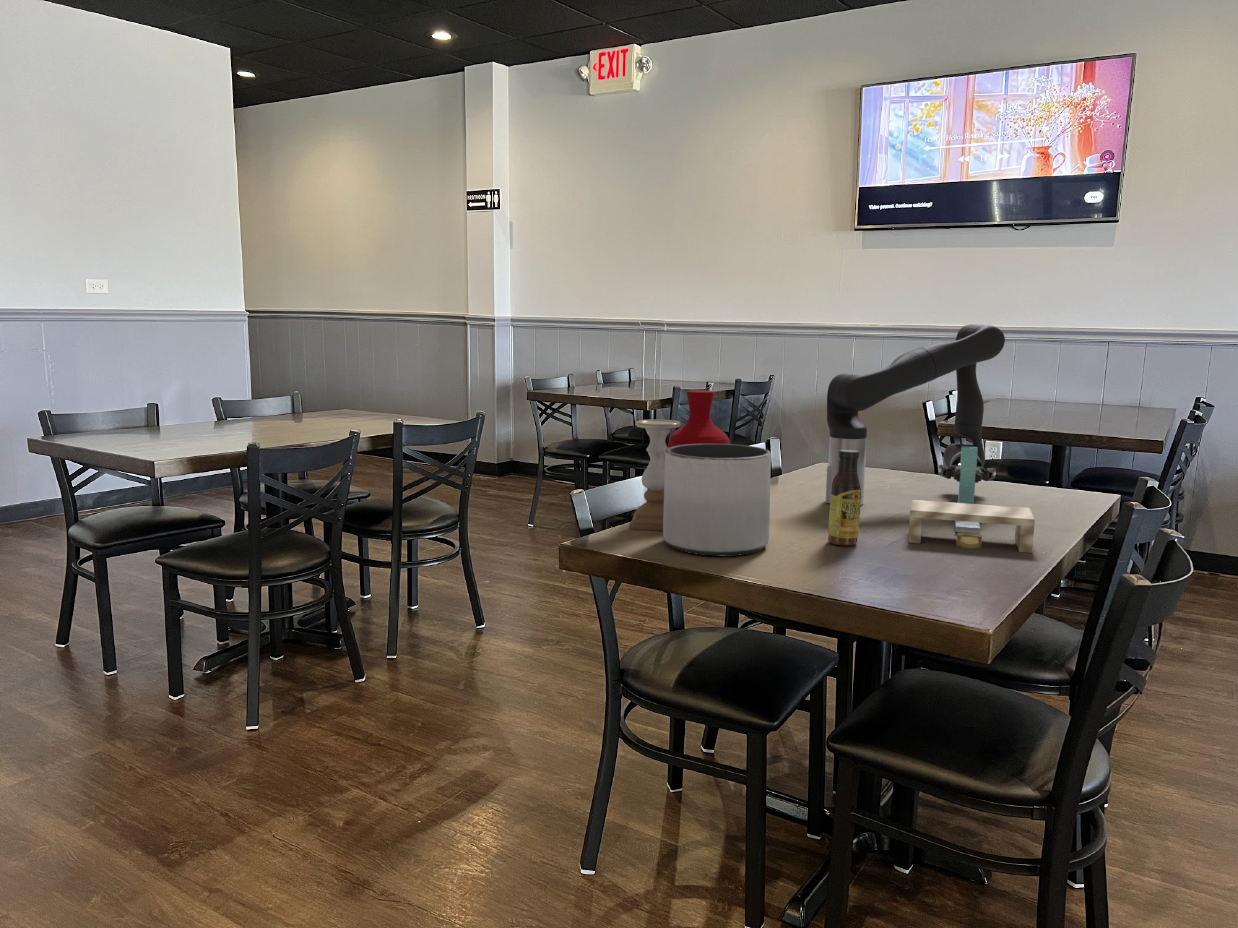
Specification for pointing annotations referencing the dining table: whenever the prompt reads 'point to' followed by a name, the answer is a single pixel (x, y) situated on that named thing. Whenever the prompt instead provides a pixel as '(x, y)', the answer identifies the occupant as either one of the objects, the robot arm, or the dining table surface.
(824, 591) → the dining table surface
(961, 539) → the block
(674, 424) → the candle holder
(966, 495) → the bar
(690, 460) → the planter
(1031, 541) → the plinth shelf
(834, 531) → the sauce bottle
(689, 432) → the vase
